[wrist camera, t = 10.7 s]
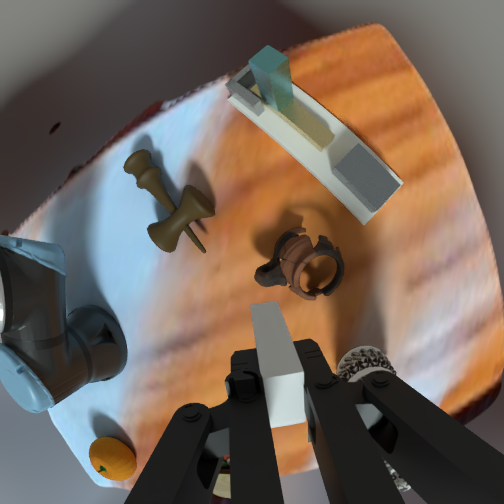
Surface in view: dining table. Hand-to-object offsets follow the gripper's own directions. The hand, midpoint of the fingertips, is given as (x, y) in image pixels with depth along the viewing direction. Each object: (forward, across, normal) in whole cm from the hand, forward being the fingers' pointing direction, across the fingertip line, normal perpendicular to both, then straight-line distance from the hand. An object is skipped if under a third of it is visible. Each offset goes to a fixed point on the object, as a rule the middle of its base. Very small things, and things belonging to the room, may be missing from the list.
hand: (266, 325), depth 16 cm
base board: (+29, +13, +13) cm, 34 cm away
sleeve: (+26, +18, +6) cm, 32 cm away
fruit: (+27, -36, -45) cm, 64 cm away
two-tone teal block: (+29, +9, +17) cm, 35 cm away
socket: (+32, +6, +22) cm, 39 cm away
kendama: (+33, -10, +6) cm, 35 cm away
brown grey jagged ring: (+26, +7, -5) cm, 28 cm away
